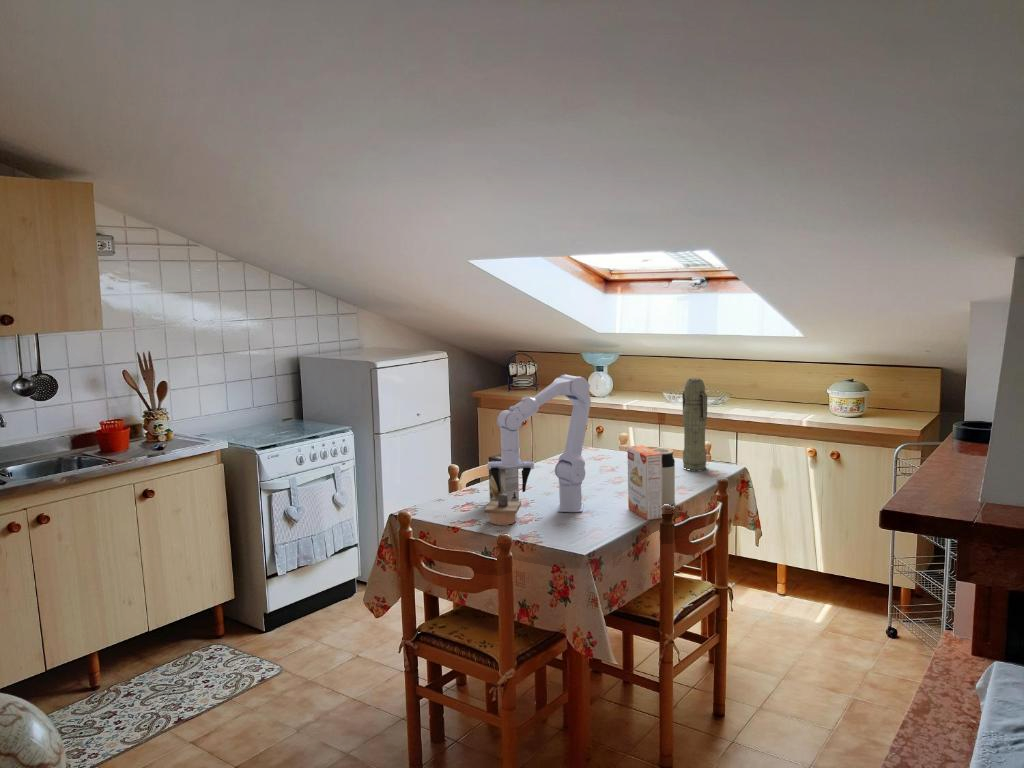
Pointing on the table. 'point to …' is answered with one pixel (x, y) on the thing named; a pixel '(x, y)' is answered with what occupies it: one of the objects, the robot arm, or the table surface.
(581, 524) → the table surface
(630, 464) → the cracker box
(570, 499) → the robot arm
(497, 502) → the walnut lid
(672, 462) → the travel mug
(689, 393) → the thermos
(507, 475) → the coffee box
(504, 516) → the terracotta bowl
